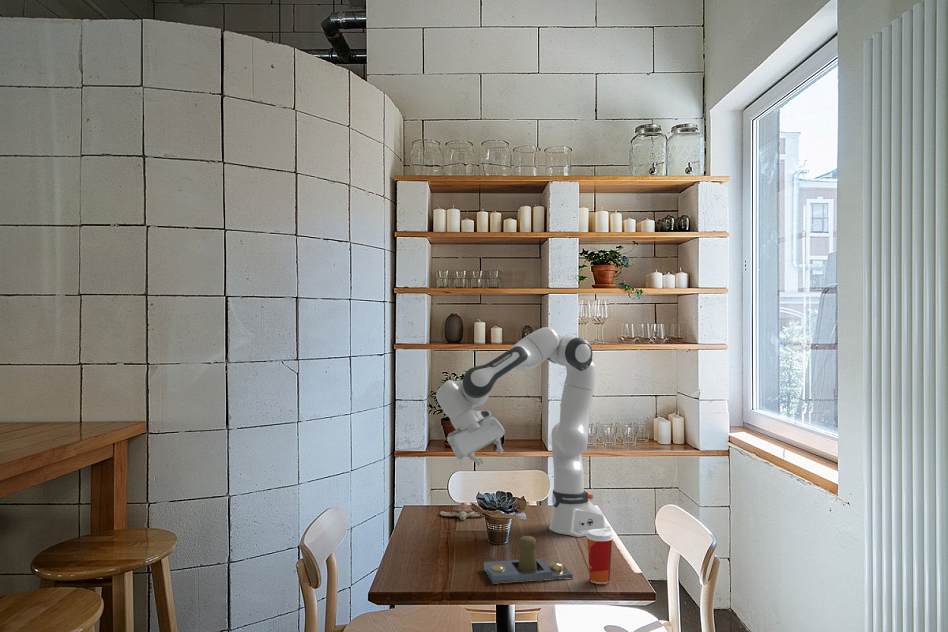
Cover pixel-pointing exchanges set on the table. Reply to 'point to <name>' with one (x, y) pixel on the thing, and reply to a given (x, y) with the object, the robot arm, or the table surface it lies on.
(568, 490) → the robot arm
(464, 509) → the decorative turtle
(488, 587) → the table surface
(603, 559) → the paper cup
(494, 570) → the slotted plate with knobs
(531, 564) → the olive green pepper mill
